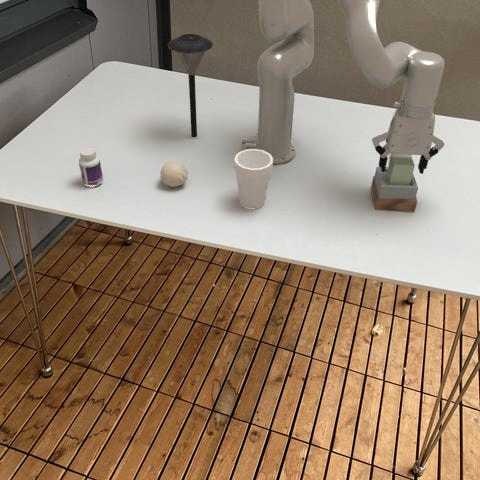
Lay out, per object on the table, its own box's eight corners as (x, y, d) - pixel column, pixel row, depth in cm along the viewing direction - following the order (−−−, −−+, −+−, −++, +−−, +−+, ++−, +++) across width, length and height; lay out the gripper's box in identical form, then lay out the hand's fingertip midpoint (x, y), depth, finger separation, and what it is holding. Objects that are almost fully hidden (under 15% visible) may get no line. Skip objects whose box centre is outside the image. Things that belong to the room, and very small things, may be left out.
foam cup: (258, 217, 143) (260, 174, 135) (227, 205, 147) (227, 162, 138) (276, 198, 149) (279, 156, 141) (246, 187, 153) (247, 145, 144)
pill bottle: (107, 178, 155) (102, 147, 148) (97, 189, 151) (91, 158, 145) (89, 174, 156) (83, 144, 150) (79, 185, 152) (72, 154, 146)
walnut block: (374, 210, 147) (377, 198, 144) (370, 188, 154) (373, 175, 152) (413, 213, 146) (417, 201, 143) (408, 190, 154) (411, 178, 151)
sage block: (389, 185, 144) (394, 165, 140) (386, 173, 148) (390, 154, 144) (409, 185, 144) (414, 165, 140) (406, 174, 147) (410, 154, 144)
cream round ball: (182, 194, 150) (180, 173, 146) (157, 188, 152) (155, 167, 148) (192, 180, 155) (191, 159, 151) (168, 174, 157) (166, 154, 152)
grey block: (379, 198, 144) (381, 186, 142) (374, 177, 151) (376, 166, 149) (415, 199, 144) (418, 188, 142) (408, 179, 151) (411, 167, 148)
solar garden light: (205, 150, 166) (203, 50, 147) (167, 142, 169) (159, 43, 150) (220, 130, 175) (219, 33, 156) (183, 123, 178) (178, 27, 158)
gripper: (380, 113, 130) (368, 176, 141) (457, 117, 129) (439, 180, 140) (376, 98, 135) (365, 159, 147) (450, 101, 135) (433, 163, 146)
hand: (401, 169), depth 143 cm, fingers open, 9 cm apart
